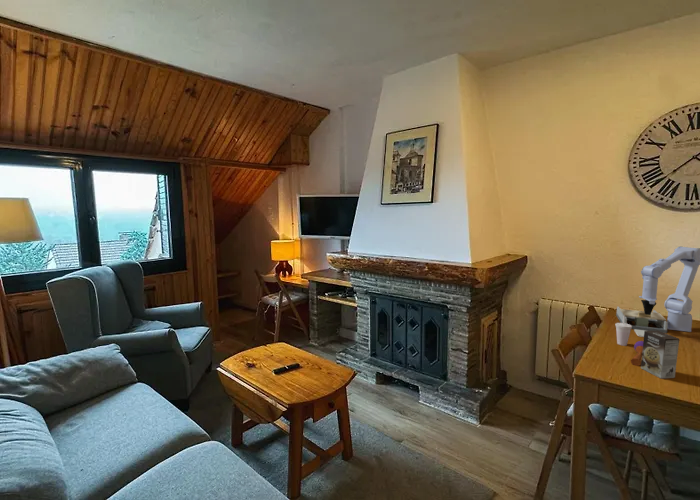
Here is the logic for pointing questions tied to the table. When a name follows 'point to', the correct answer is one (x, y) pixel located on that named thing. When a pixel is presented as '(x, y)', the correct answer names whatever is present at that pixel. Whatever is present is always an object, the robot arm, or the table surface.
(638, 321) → the block
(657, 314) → the lid
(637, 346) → the kendama
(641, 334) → the tile
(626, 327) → the smoothie
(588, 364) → the table surface
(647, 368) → the grey cardboard box
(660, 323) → the grey shallow open box
